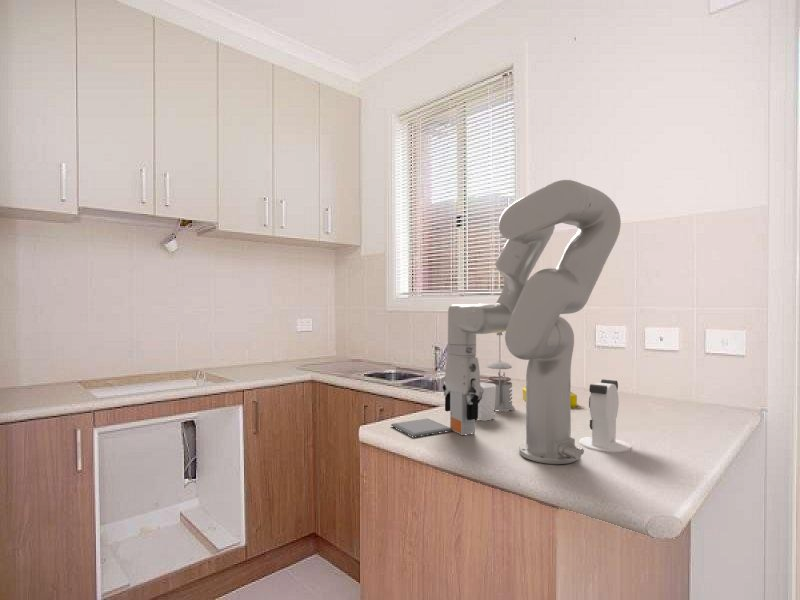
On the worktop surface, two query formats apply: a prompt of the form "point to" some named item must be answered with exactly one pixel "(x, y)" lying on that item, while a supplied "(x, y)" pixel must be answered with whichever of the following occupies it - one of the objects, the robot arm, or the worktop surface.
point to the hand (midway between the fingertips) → (460, 414)
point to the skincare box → (460, 414)
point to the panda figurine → (604, 418)
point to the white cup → (487, 402)
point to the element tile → (572, 398)
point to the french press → (501, 385)
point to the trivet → (421, 427)
